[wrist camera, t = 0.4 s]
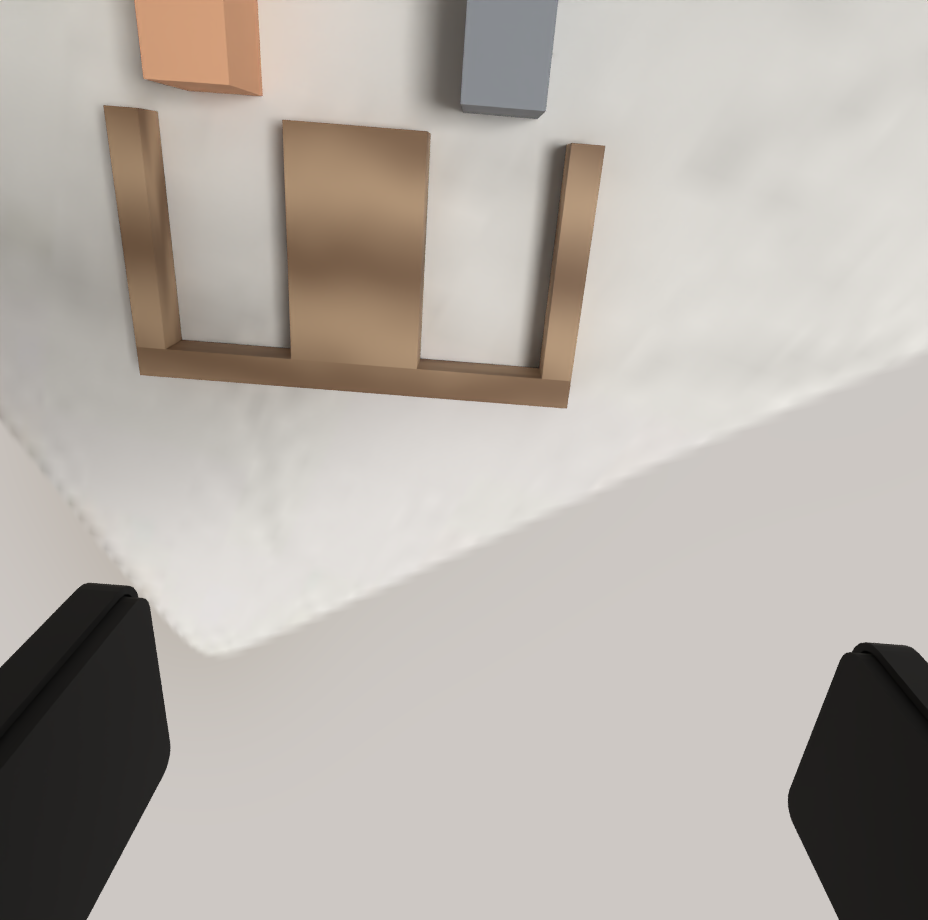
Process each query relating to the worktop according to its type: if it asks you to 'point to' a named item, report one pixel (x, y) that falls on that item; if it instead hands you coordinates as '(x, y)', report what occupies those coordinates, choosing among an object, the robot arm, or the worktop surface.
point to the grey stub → (507, 57)
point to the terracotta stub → (201, 44)
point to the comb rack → (345, 269)
